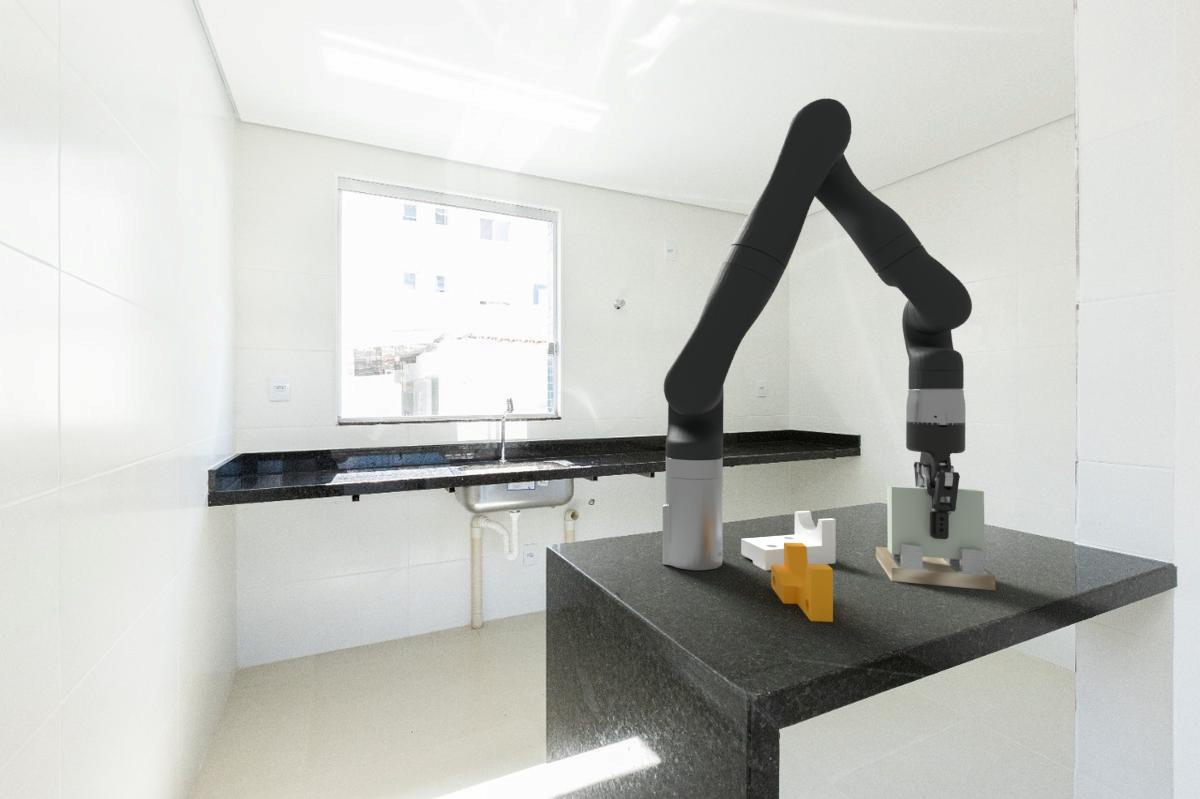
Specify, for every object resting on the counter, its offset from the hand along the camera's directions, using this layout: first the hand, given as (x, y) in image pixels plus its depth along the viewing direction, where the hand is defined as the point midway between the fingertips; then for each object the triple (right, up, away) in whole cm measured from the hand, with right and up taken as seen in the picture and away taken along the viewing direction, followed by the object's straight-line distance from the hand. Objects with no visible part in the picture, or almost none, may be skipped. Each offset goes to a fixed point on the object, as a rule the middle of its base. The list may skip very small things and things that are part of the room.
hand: (934, 533), depth 81 cm
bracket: (-19, -7, +9) cm, 22 cm away
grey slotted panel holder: (0, -5, 0) cm, 5 cm away
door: (0, -3, 0) cm, 3 cm away
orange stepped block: (-24, -7, -10) cm, 27 cm away
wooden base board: (+1, -7, +3) cm, 7 cm away
